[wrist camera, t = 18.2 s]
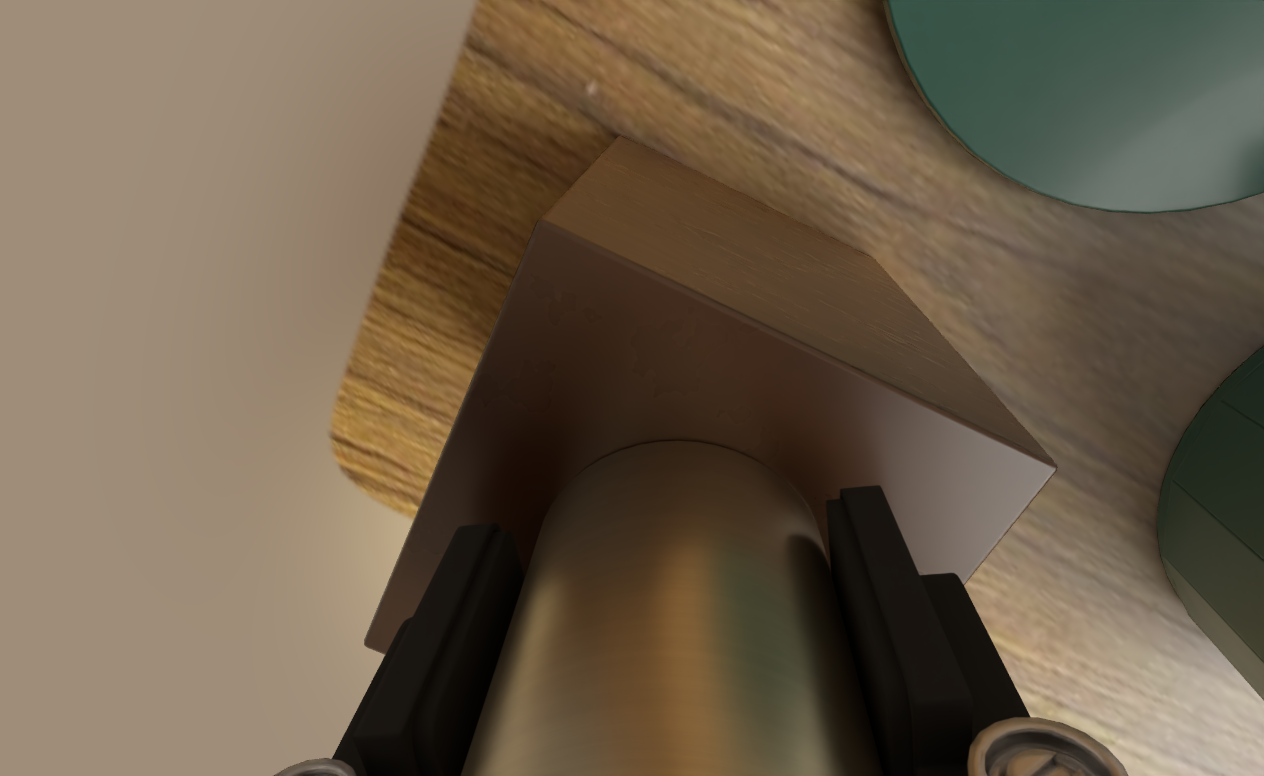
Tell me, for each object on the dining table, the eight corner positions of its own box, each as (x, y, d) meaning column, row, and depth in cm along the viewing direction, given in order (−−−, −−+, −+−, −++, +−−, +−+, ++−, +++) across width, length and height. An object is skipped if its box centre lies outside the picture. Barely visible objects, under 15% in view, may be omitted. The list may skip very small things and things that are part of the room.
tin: (566, 685, 13) (474, 1140, 8) (510, 455, 11) (338, 826, 6) (832, 667, 13) (940, 1145, 7) (813, 422, 11) (934, 797, 5)
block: (742, 480, 25) (780, 817, 14) (513, 377, 24) (360, 647, 13) (877, 260, 22) (1063, 467, 11) (619, 132, 21) (537, 217, 10)
